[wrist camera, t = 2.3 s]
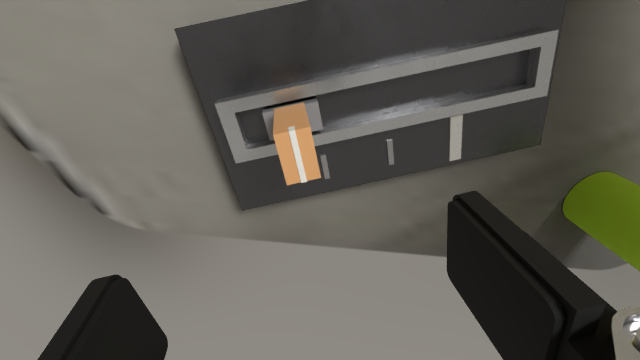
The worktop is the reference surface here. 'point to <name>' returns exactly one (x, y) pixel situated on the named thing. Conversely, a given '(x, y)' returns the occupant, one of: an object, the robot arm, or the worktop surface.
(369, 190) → the worktop surface
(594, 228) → the soap dispenser
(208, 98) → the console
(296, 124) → the fader knob
